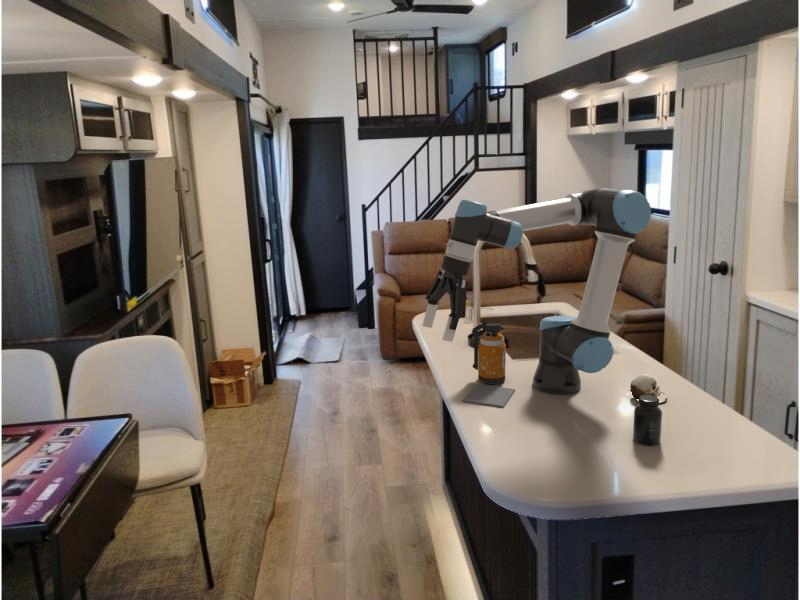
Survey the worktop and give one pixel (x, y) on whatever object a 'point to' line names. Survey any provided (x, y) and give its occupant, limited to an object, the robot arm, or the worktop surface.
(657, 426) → the supplement bottle
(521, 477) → the worktop surface
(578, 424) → the worktop surface
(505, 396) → the mat
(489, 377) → the canister
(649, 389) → the skull
